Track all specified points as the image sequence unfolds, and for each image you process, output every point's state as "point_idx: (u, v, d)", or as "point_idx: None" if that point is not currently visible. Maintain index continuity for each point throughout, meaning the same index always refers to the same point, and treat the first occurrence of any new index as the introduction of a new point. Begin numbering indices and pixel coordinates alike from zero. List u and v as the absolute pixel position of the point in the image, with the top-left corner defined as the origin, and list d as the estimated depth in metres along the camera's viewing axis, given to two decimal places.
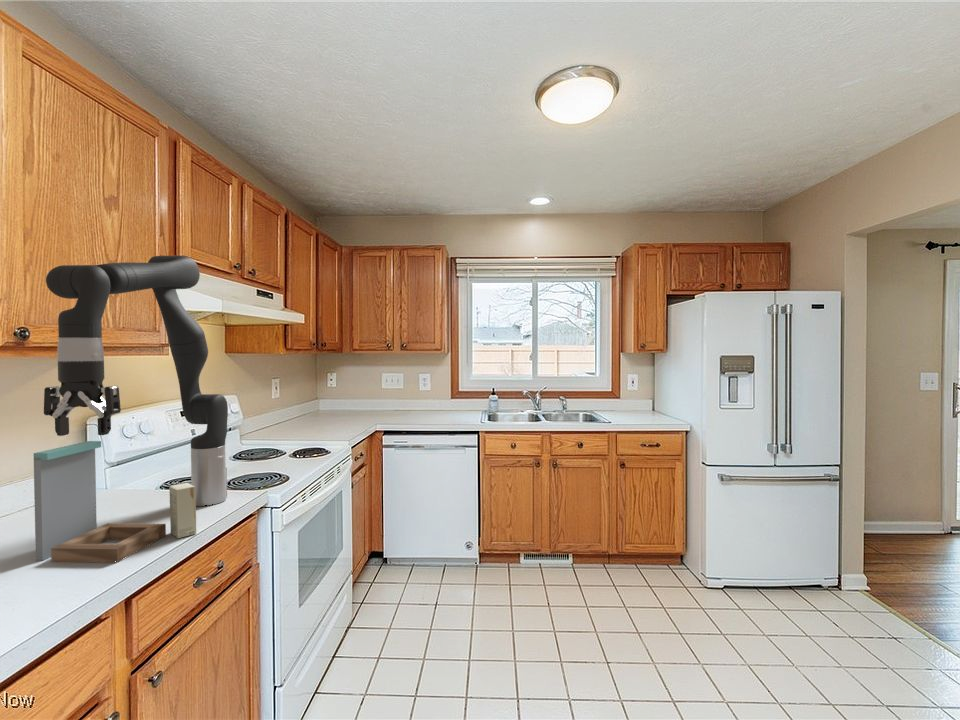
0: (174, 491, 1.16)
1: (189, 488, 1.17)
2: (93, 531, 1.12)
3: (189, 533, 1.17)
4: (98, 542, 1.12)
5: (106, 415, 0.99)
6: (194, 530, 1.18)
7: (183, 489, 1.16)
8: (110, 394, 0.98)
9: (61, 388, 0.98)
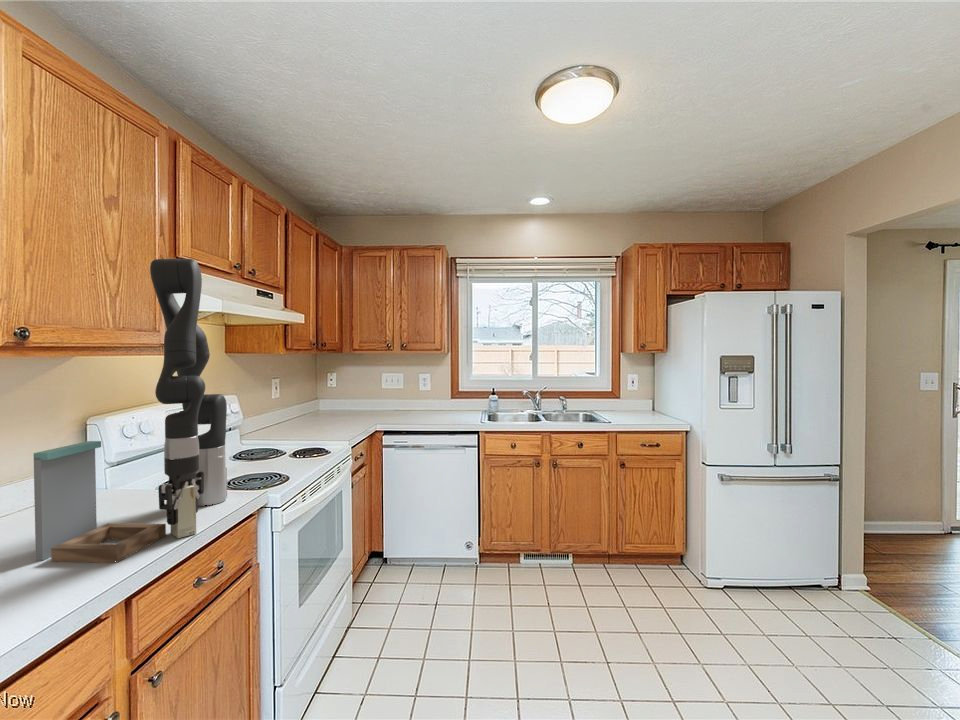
0: None
1: (189, 488, 1.17)
2: (93, 531, 1.12)
3: (189, 533, 1.17)
4: (98, 542, 1.12)
5: None
6: (194, 530, 1.18)
7: (183, 489, 1.16)
8: (203, 477, 1.25)
9: (177, 481, 1.15)
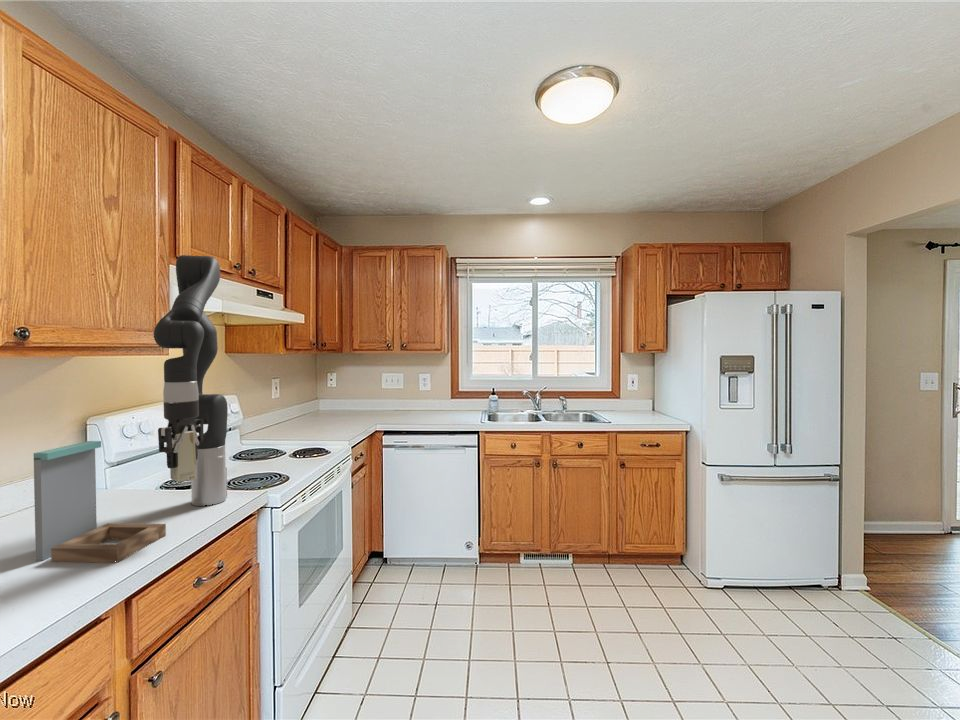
0: None
1: (189, 433, 1.17)
2: (93, 531, 1.12)
3: (189, 478, 1.17)
4: (98, 542, 1.12)
5: None
6: (194, 475, 1.18)
7: (183, 433, 1.16)
8: (202, 425, 1.25)
9: (177, 425, 1.15)
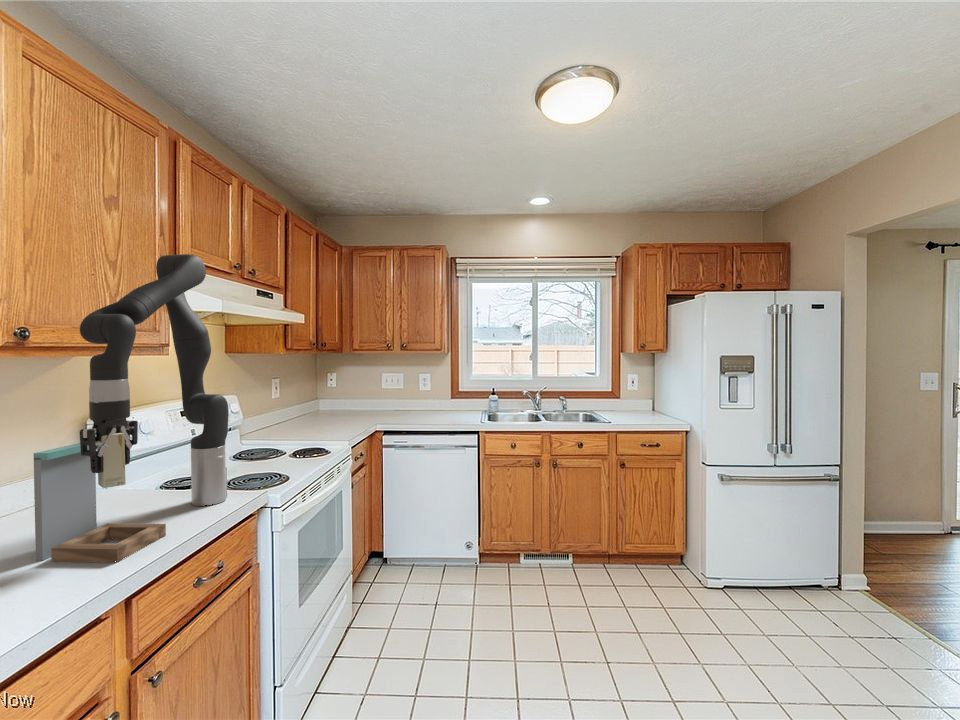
0: None
1: (117, 435, 1.08)
2: (93, 531, 1.12)
3: (117, 483, 1.08)
4: (98, 542, 1.12)
5: None
6: (123, 480, 1.09)
7: (110, 435, 1.07)
8: (136, 427, 1.16)
9: (102, 427, 1.06)
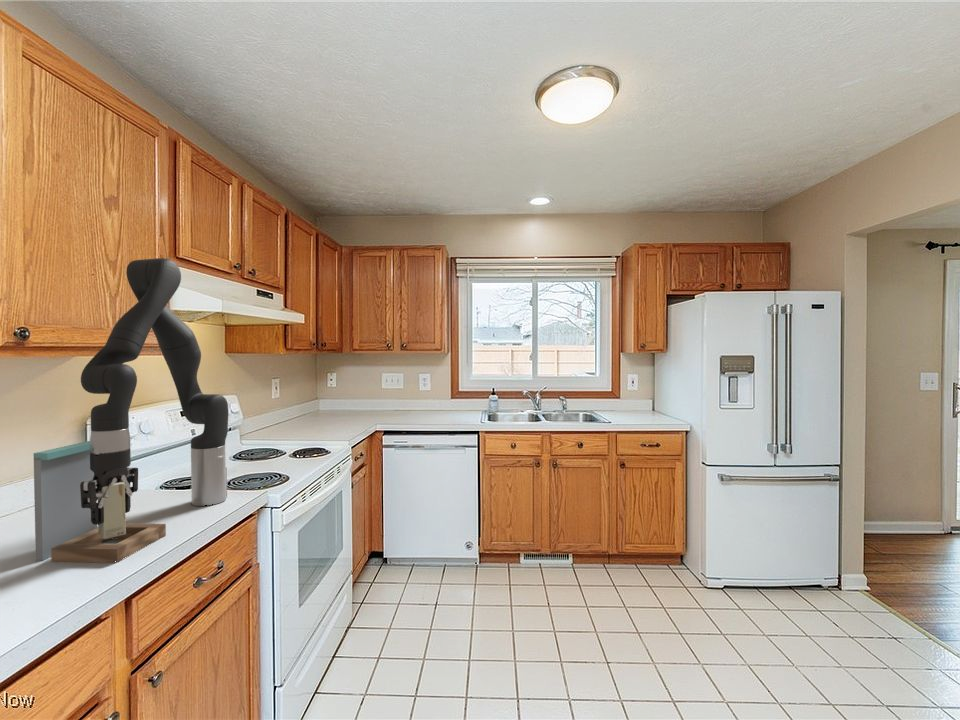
0: None
1: (117, 485, 1.08)
2: (93, 531, 1.12)
3: (117, 534, 1.08)
4: (98, 542, 1.12)
5: None
6: (123, 530, 1.09)
7: (110, 486, 1.07)
8: (137, 474, 1.16)
9: (103, 478, 1.06)
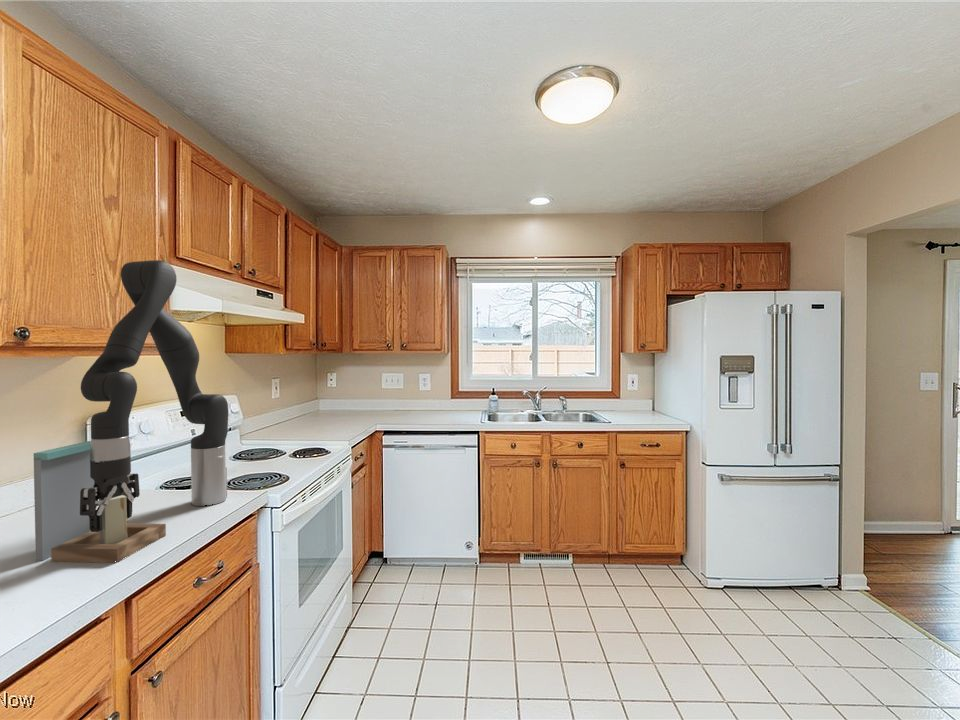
0: None
1: (119, 499, 1.09)
2: None
3: None
4: (98, 542, 1.12)
5: None
6: None
7: (112, 500, 1.08)
8: (137, 479, 1.16)
9: (103, 485, 1.06)
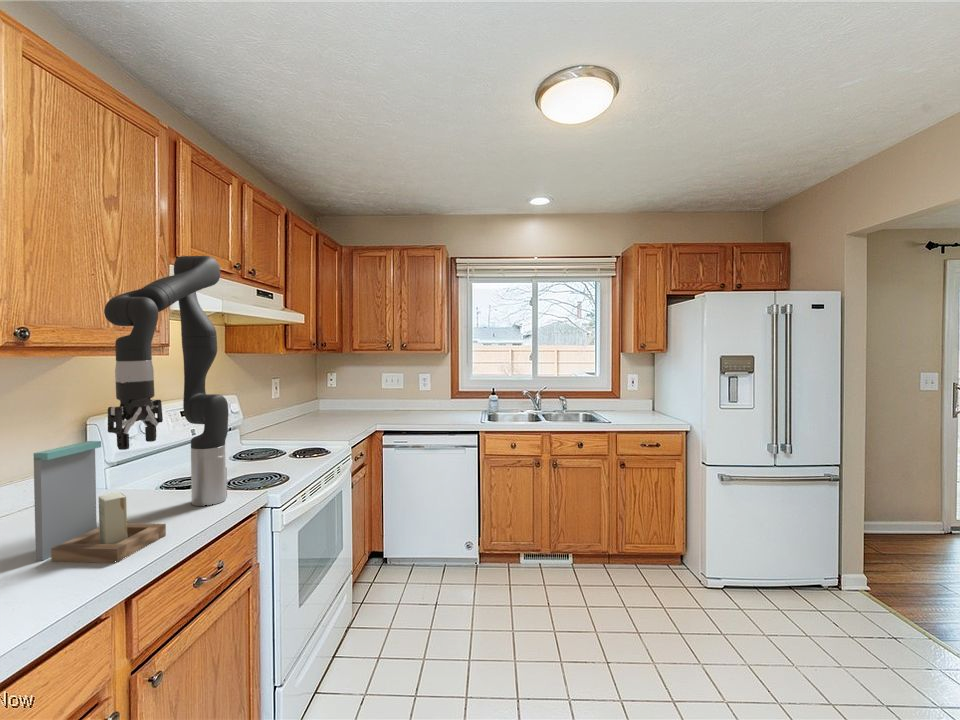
0: (102, 502, 1.08)
1: (119, 499, 1.09)
2: (93, 531, 1.12)
3: None
4: (98, 542, 1.12)
5: None
6: None
7: (112, 500, 1.08)
8: (160, 405, 1.20)
9: (129, 406, 1.10)
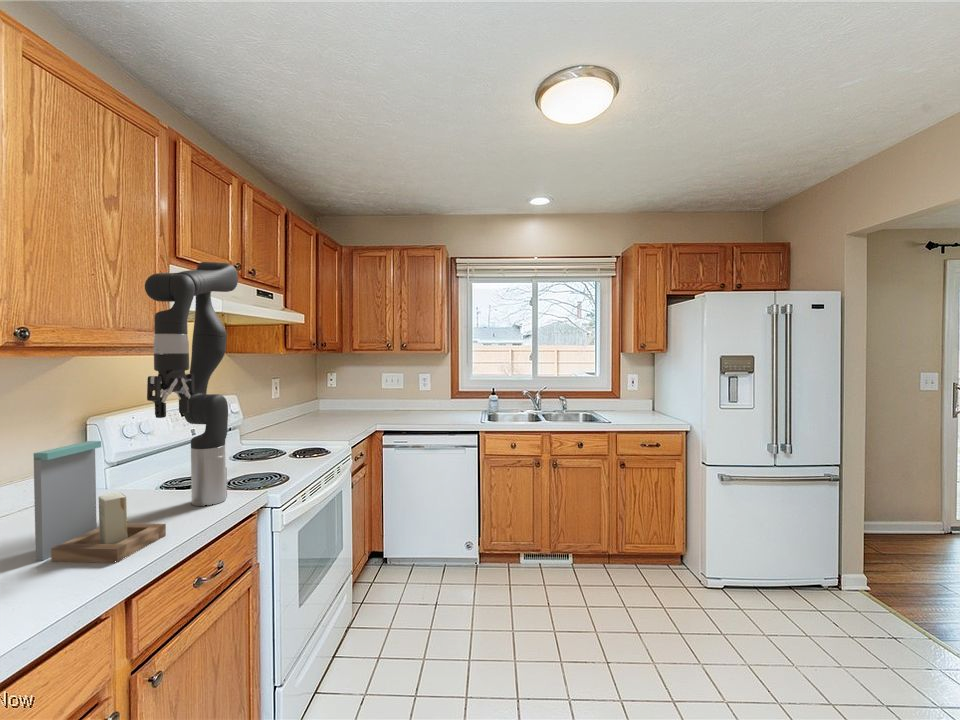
0: (102, 502, 1.08)
1: (119, 499, 1.09)
2: (93, 531, 1.12)
3: None
4: (98, 542, 1.12)
5: None
6: None
7: (112, 500, 1.08)
8: (193, 379, 1.26)
9: (167, 376, 1.16)
